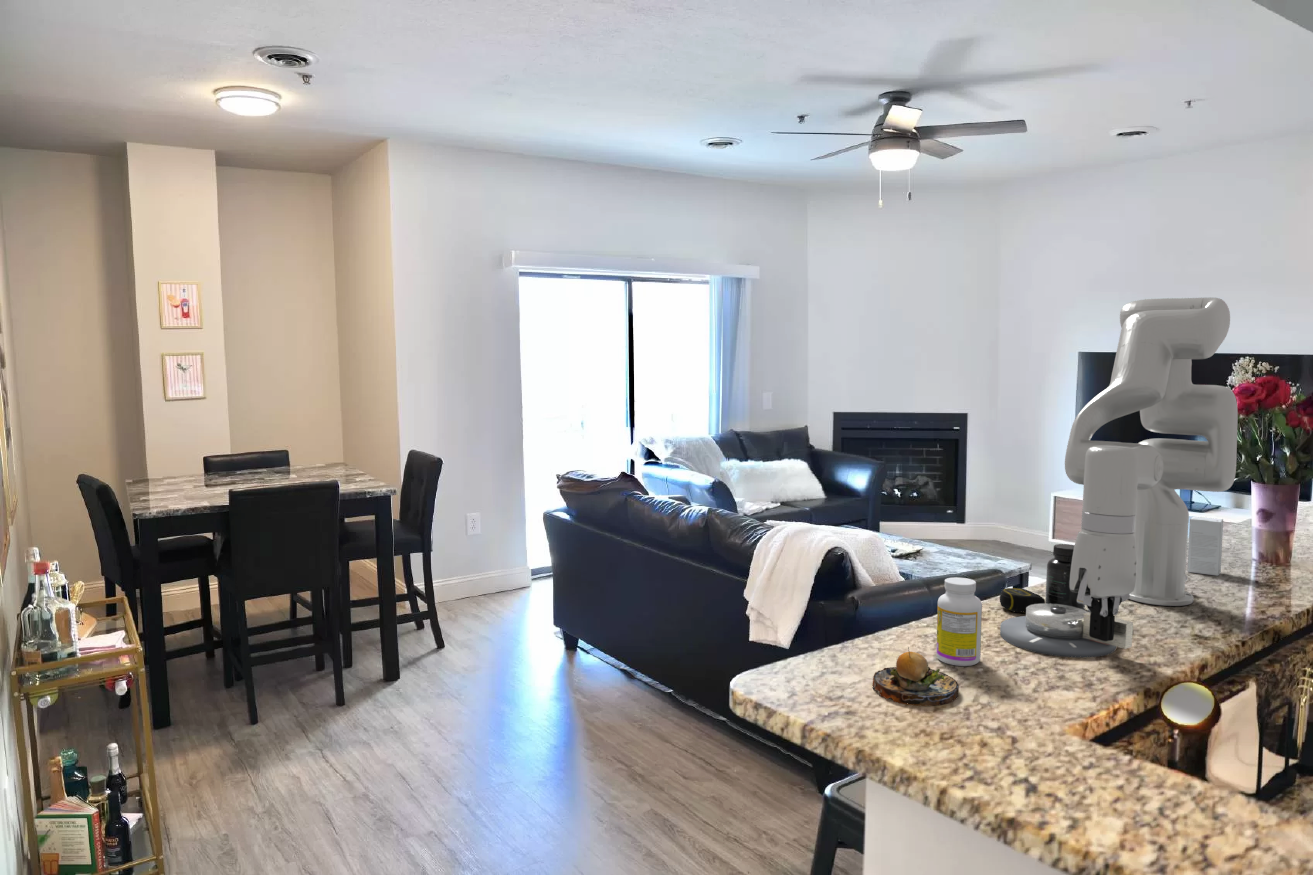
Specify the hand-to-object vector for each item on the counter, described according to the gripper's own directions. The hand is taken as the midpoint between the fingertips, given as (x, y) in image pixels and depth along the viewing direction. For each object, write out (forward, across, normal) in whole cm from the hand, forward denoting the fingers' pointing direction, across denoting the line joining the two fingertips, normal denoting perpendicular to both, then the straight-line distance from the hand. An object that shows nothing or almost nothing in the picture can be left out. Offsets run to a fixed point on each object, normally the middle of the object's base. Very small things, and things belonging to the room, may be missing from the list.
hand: (1101, 638), depth 142 cm
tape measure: (+3, -10, -25) cm, 28 cm away
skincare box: (+1, -69, -29) cm, 75 cm away
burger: (+5, +36, -2) cm, 36 cm away
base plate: (+3, -2, -10) cm, 10 cm away
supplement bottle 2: (+3, -18, -22) cm, 29 cm away
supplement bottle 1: (+4, +21, -9) cm, 23 cm away
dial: (+1, -2, -6) cm, 7 cm away
